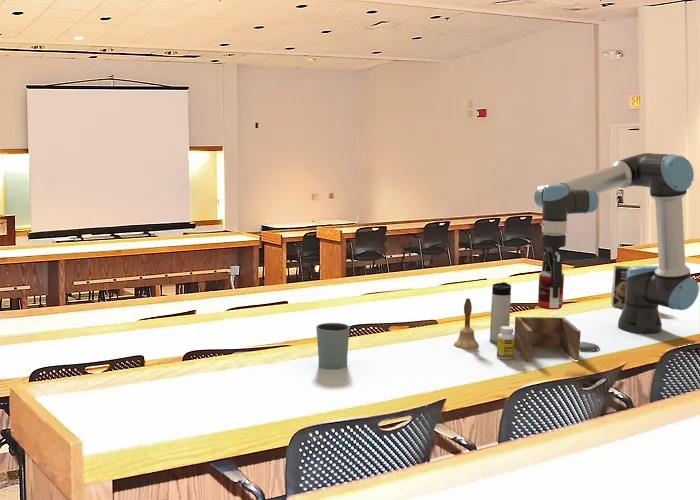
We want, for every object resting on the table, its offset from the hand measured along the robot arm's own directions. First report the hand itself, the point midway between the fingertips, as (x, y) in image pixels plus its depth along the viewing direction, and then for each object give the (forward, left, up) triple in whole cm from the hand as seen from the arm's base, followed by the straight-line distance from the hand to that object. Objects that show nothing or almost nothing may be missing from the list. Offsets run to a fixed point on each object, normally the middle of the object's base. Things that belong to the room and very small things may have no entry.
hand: (550, 304), depth 276 cm
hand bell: (+24, -11, -17) cm, 32 cm away
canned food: (0, 0, -1) cm, 1 cm away
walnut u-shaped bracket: (0, -1, -17) cm, 17 cm away
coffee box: (-51, -74, -17) cm, 91 cm away
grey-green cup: (+69, +13, -17) cm, 73 cm away
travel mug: (+12, -16, -17) cm, 26 cm away
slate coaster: (-15, -10, -17) cm, 24 cm away
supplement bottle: (+14, +3, -17) cm, 22 cm away
